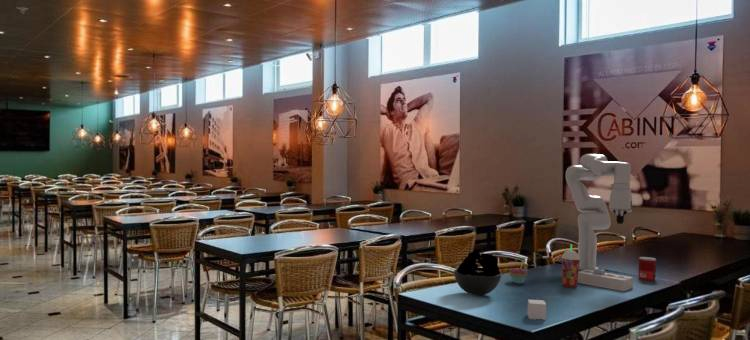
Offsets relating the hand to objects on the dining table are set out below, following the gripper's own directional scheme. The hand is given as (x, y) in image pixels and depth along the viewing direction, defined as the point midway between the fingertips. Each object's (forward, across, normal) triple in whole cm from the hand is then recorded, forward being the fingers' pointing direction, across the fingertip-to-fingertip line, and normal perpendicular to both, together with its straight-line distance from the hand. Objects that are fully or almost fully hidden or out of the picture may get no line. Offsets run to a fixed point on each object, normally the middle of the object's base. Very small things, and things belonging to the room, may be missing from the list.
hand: (619, 223), depth 294 cm
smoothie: (+29, -10, -32) cm, 45 cm away
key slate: (+26, -3, -15) cm, 30 cm away
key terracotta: (+28, +2, -15) cm, 32 cm away
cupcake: (+29, -30, -45) cm, 62 cm away
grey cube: (+29, +7, -95) cm, 100 cm away
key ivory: (+28, +8, -15) cm, 32 cm away
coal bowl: (+29, -28, -83) cm, 92 cm away
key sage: (+28, -9, -15) cm, 33 cm away
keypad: (+29, 0, -15) cm, 33 cm away
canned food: (+29, +8, +18) cm, 35 cm away
